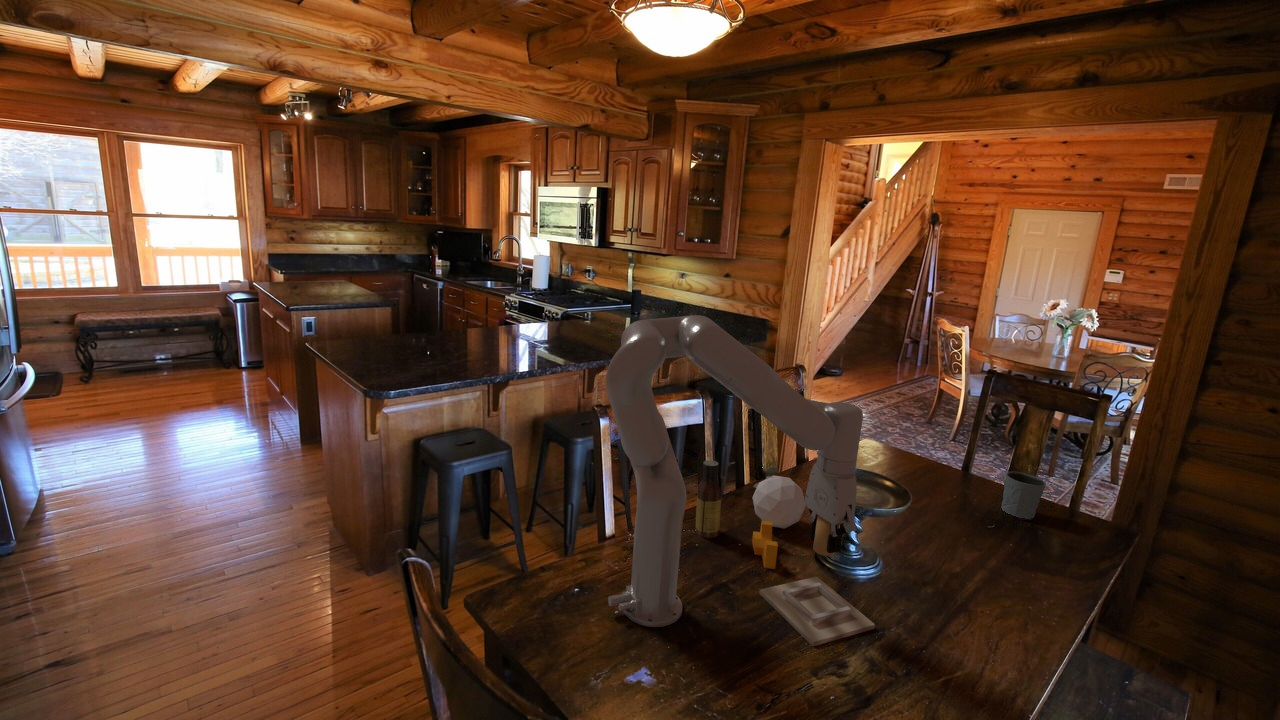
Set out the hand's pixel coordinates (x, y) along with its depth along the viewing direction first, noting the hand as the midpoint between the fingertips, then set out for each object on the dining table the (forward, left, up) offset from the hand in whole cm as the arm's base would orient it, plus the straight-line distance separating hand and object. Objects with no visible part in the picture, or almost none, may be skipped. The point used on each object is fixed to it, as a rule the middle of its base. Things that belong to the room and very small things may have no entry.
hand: (825, 544), depth 124 cm
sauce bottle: (-6, +36, -16) cm, 40 cm away
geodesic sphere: (+14, +35, -16) cm, 41 cm away
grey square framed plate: (0, 0, -16) cm, 16 cm away
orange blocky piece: (+2, +22, -16) cm, 28 cm away
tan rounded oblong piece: (0, 0, -1) cm, 1 cm away
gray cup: (+92, +17, -16) cm, 95 cm away
